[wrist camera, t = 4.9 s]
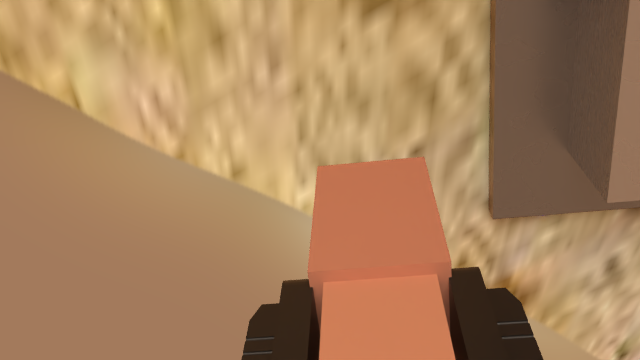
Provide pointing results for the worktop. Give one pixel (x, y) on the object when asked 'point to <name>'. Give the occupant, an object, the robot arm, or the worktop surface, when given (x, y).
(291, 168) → the worktop surface
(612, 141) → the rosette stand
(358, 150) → the worktop surface
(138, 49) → the worktop surface
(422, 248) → the stepped block
